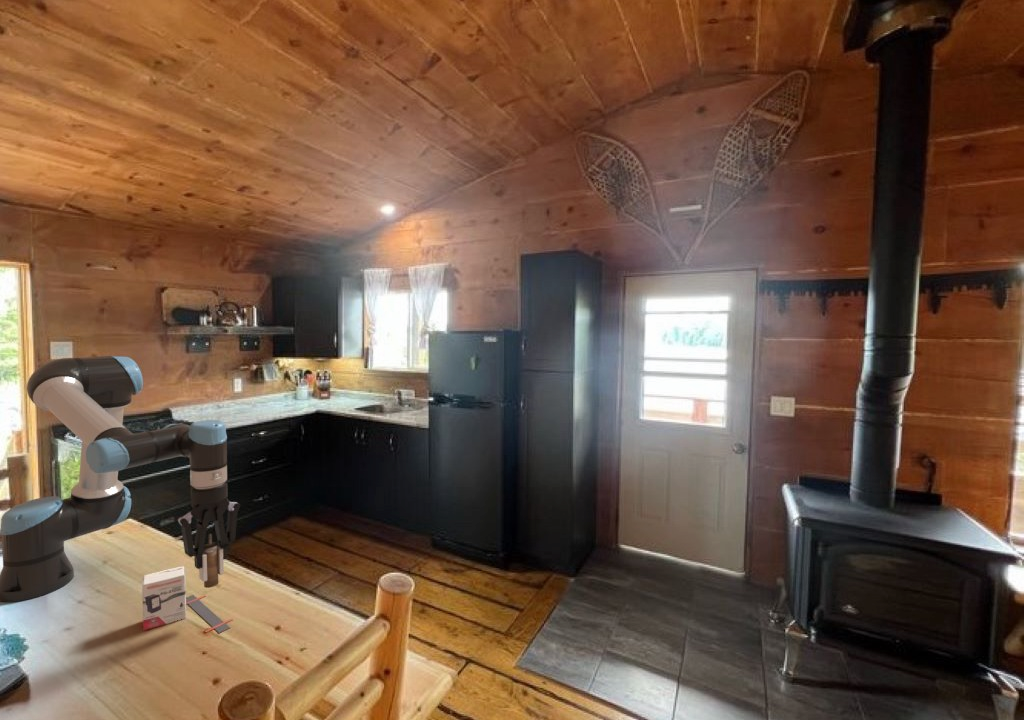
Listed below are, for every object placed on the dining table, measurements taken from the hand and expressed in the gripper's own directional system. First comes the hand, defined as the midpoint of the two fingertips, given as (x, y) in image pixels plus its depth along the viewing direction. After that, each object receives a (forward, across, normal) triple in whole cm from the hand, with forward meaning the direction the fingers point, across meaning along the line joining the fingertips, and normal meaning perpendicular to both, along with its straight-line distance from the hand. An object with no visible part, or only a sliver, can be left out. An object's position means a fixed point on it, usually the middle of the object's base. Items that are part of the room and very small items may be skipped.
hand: (211, 575), depth 113 cm
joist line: (+11, 0, +4) cm, 12 cm away
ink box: (+12, -7, +9) cm, 16 cm away
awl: (+2, 0, 0) cm, 2 cm away
